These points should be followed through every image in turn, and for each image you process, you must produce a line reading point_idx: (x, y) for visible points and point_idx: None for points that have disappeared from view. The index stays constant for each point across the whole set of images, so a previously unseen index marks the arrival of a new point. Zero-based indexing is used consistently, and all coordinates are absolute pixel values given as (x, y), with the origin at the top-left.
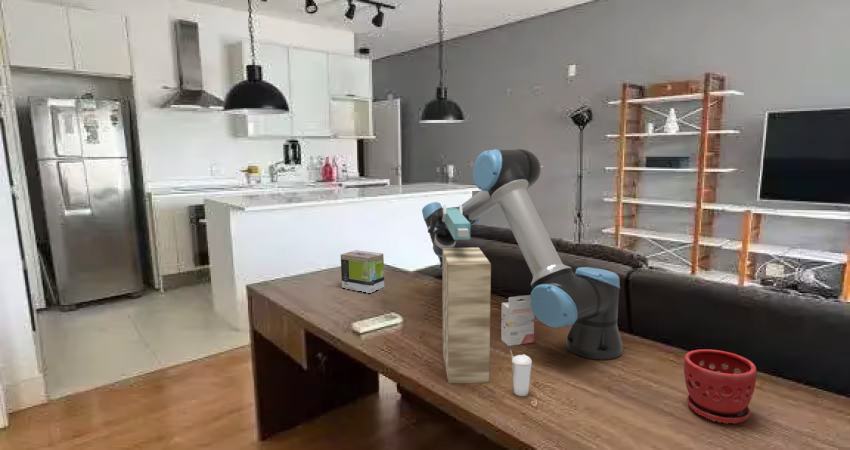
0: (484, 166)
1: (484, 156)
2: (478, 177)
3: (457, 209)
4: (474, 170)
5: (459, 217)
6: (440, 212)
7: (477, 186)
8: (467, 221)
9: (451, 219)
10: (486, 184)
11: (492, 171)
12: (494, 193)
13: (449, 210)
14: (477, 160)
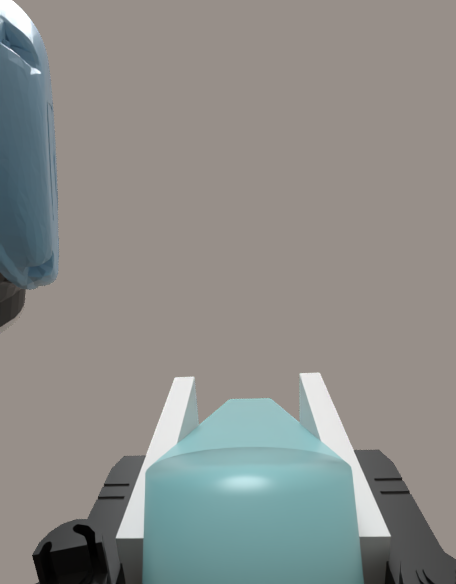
0: (53, 149)
1: (51, 93)
2: (50, 184)
3: (177, 447)
4: (45, 102)
5: (242, 405)
6: (367, 459)
7: (51, 244)
8: (230, 400)
9: (274, 402)
10: (56, 258)
11: (57, 209)
12: (21, 312)
13: (272, 435)
14: (47, 59)
